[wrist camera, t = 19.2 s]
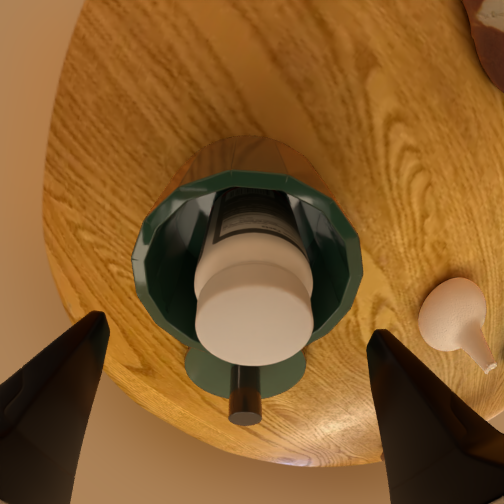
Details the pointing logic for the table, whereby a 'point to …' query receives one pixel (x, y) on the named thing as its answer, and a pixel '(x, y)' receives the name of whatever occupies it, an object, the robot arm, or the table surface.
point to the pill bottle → (253, 280)
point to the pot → (195, 222)
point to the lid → (243, 381)
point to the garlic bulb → (456, 320)
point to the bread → (488, 36)
